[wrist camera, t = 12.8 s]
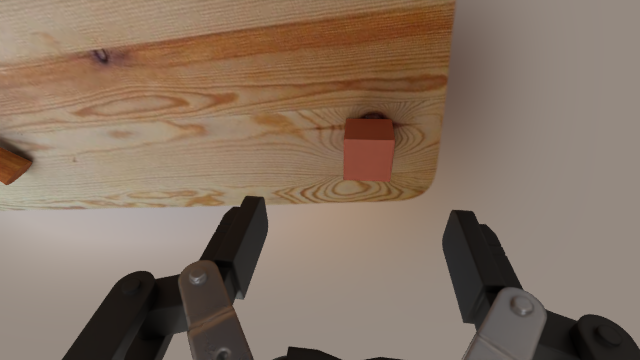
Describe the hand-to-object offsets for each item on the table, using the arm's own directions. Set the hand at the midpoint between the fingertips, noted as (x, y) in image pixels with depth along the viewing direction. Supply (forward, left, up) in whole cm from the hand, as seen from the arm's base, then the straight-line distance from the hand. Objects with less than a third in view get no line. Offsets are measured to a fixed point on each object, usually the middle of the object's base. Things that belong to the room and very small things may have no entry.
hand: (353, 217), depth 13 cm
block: (-1, +4, -15) cm, 16 cm away
